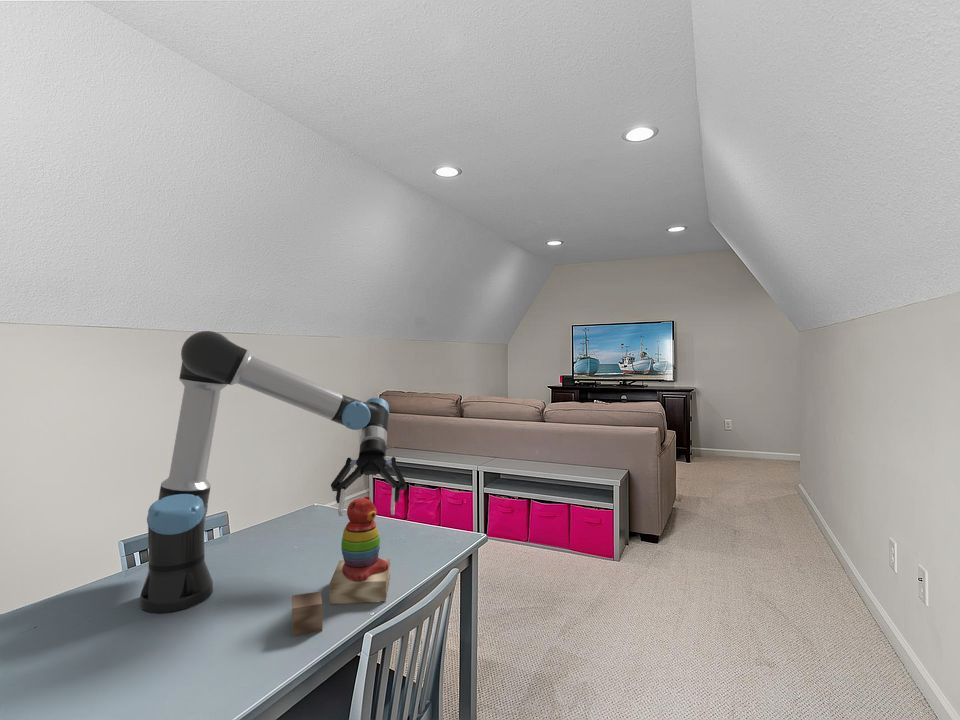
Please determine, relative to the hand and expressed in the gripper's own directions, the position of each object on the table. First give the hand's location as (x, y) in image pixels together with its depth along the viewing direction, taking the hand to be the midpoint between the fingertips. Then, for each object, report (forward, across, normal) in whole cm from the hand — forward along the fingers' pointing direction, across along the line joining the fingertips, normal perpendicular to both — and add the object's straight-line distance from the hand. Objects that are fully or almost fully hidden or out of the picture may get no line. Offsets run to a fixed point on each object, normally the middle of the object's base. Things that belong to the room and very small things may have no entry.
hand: (366, 513), depth 138 cm
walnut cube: (+29, +9, +6) cm, 31 cm away
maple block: (+18, 0, -6) cm, 19 cm away
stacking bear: (+14, 0, -2) cm, 15 cm away
